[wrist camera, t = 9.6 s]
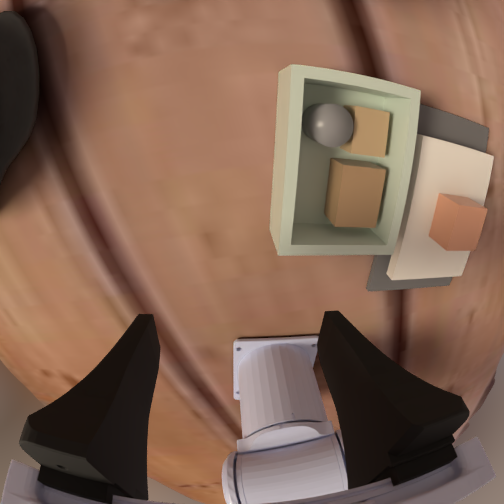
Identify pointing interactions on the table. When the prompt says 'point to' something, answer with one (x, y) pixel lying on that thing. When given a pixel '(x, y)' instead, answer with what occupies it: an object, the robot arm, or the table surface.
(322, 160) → the storage box
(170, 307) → the table surface
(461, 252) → the lid
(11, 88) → the casserole
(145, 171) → the table surface
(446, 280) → the mat
